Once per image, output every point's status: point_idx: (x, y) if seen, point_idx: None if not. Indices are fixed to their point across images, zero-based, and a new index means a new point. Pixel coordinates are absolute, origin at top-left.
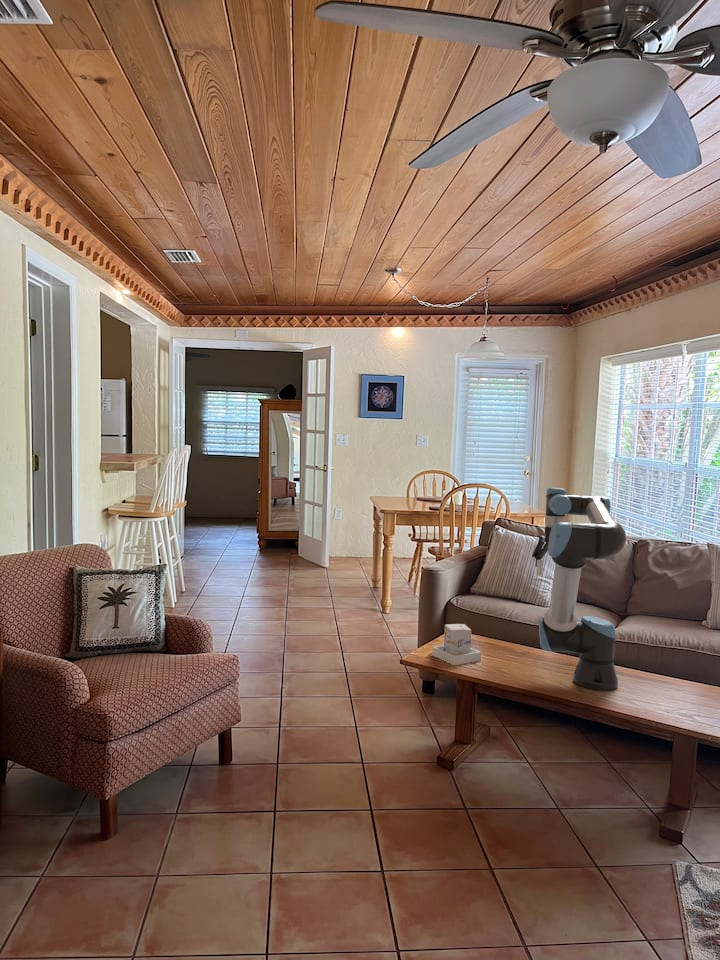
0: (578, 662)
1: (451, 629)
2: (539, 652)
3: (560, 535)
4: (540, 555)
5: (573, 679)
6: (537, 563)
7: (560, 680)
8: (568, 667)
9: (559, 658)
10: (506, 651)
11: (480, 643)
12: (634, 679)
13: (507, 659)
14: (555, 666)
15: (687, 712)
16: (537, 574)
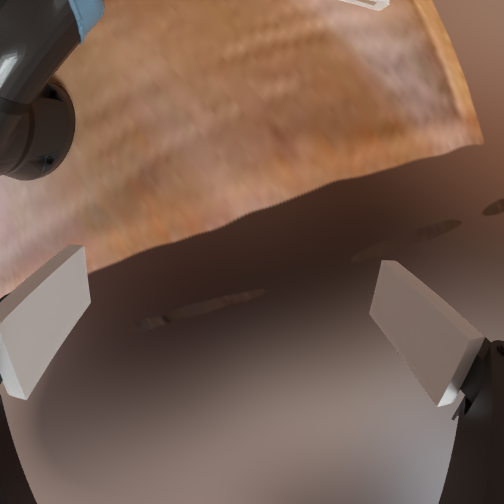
0: (37, 97)
1: None
2: (263, 188)
3: None
4: (487, 396)
5: (62, 89)
6: (453, 315)
7: (81, 62)
8: (130, 156)
9: (195, 196)
10: (319, 108)
11: (402, 109)
12: (21, 237)
13: (266, 54)
14: (153, 128)
15: None
16: (388, 263)
